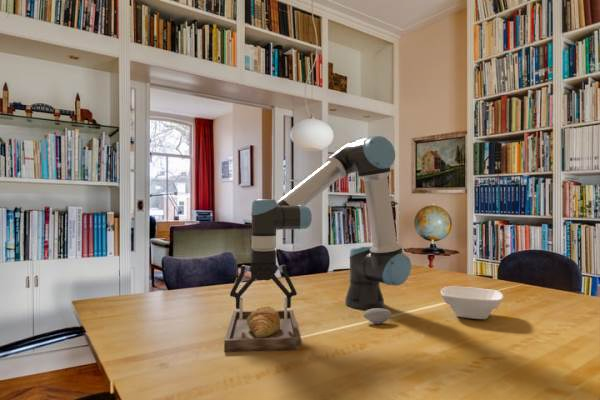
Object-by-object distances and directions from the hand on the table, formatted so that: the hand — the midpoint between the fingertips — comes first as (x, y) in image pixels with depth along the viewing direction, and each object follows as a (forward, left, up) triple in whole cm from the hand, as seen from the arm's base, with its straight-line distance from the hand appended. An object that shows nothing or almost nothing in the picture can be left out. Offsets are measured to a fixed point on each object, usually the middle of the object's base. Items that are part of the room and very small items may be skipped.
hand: (263, 319), depth 120 cm
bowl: (-74, -14, -5) cm, 75 cm away
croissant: (0, 0, -4) cm, 4 cm away
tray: (0, 0, -4) cm, 4 cm away
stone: (-38, -8, -5) cm, 39 cm away
